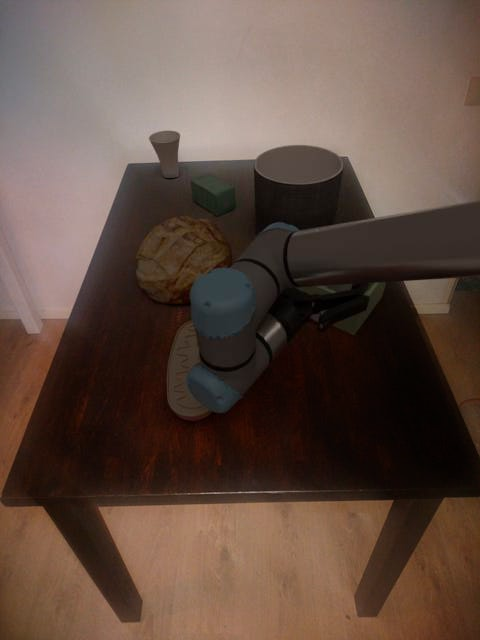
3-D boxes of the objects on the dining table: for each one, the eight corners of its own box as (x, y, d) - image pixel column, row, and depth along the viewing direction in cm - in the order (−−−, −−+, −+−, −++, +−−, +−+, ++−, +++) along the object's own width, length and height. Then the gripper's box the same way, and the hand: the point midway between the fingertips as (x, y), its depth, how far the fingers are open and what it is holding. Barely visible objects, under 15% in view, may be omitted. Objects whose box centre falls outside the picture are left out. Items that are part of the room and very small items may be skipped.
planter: (246, 219, 115) (243, 152, 101) (314, 206, 119) (321, 139, 104) (269, 262, 100) (270, 191, 86) (346, 246, 104) (360, 175, 89)
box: (218, 217, 117) (216, 194, 111) (192, 201, 124) (189, 179, 119) (236, 208, 120) (235, 186, 114) (210, 193, 127) (208, 172, 122)
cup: (186, 180, 135) (180, 141, 125) (156, 183, 134) (148, 144, 124) (185, 167, 142) (179, 129, 132) (157, 170, 141) (149, 132, 131)
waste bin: (381, 297, 89) (391, 267, 83) (353, 335, 82) (361, 305, 75) (326, 274, 96) (330, 245, 89) (295, 308, 88) (297, 278, 82)
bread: (217, 239, 111) (210, 189, 101) (251, 291, 92) (246, 236, 82) (133, 260, 106) (117, 210, 96) (149, 321, 87) (131, 266, 77)
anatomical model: (220, 429, 68) (217, 415, 64) (164, 431, 68) (159, 416, 65) (223, 333, 84) (221, 317, 80) (178, 335, 84) (174, 319, 81)
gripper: (210, 312, 67) (277, 252, 79) (338, 381, 56) (395, 299, 67) (205, 279, 62) (278, 220, 73) (346, 348, 51) (407, 266, 62)
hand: (334, 258), depth 70 cm, fingers open, 13 cm apart
